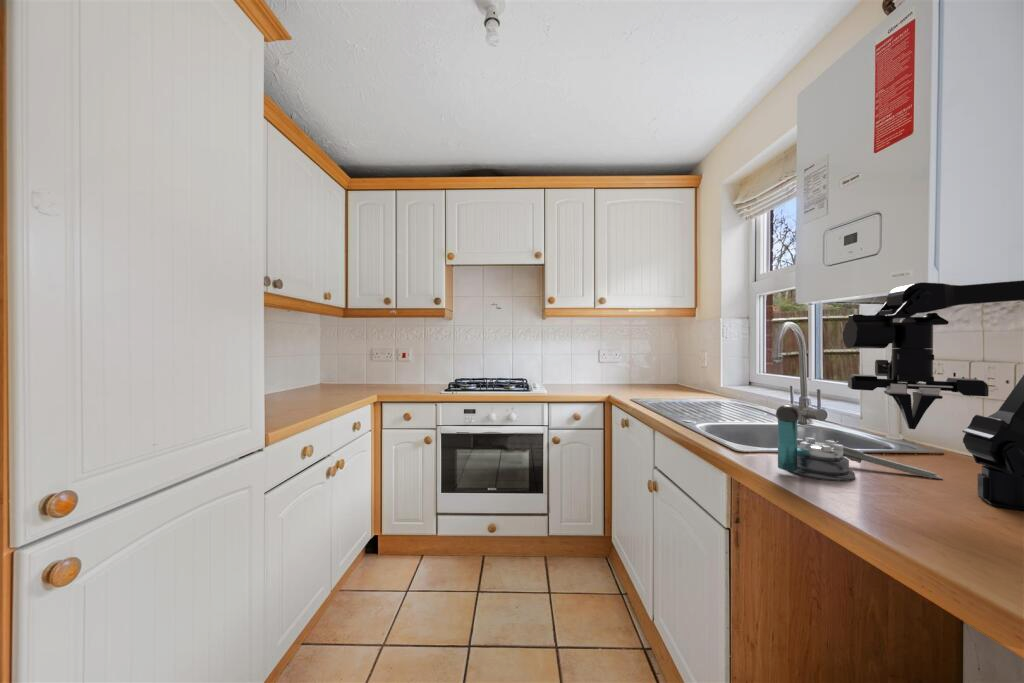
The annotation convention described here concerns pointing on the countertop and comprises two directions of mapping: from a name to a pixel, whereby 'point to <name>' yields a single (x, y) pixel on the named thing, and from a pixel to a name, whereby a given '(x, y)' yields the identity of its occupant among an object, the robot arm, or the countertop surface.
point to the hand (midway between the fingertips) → (911, 428)
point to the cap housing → (824, 469)
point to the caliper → (885, 462)
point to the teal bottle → (800, 442)
